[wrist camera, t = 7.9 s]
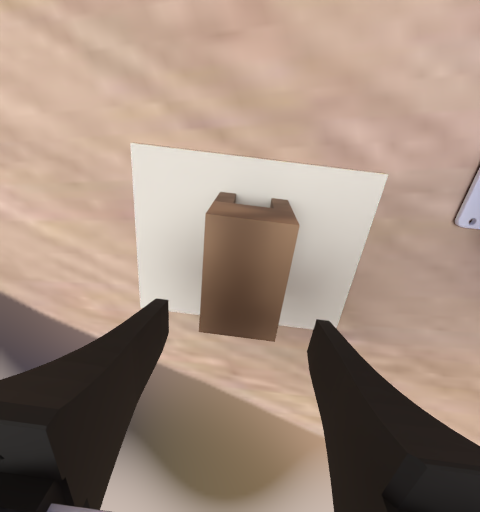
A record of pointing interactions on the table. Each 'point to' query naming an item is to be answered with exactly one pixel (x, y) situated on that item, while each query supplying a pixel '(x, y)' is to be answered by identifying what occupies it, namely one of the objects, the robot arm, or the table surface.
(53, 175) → the table surface
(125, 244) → the table surface
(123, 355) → the robot arm
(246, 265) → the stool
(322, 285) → the mat
